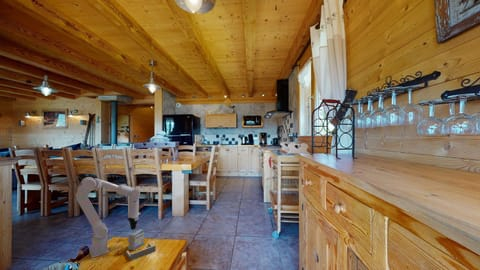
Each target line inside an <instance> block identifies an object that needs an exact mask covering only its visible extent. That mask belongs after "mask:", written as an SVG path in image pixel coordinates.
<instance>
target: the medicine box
mask: <svg viewBox="0 0 480 270" xmlns="http://www.w3.org/2000/svg"><path fill="white" fill-rule="evenodd" d="M144 241H145V230H144V229H136V230H135V231H133V232H131V233H130V234H128V244H127V245H128V246H127V247H128V251H130V250H131V251H136V250H137V249H139V248H140V247H141V246H142V245H144V243H145V242H144Z"/></svg>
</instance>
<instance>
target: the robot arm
mask: <svg viewBox="0 0 480 270" xmlns="http://www.w3.org/2000/svg"><path fill="white" fill-rule="evenodd" d="M95 188H96V189H99V188H105V189H110V190H112V191H115V192H116V194H117V195H121V196H125V197H128V213H127V217H128V218H127V220H128V222H129V226H130V227H129V228H130V230H132V231H134V230H136V229H137V224H138V221H139V219H140V217H139V216H140V215H141V213H142V212H139V209H140V198H139V197H140V196H141V192H140V190H139V189H137V188H136V187H134V186H128V185H127V184H125V183H123V184H118V185H117V184H116V183H113V182H109V181H106V180H104V179H100V178H95V177H94V178H93V177H91V176H87V177H84V178H83V179H81V181H80V182H79V184H78V187H77V191H76V195H75V199H76V201H77V203H78V205H79V206H80V208H81V210H82V211H83V213H84V215H85V216H86V219H87V220H88V222H89V224H90V226H91V227H92V231H93V236H92V238H91V249H90V250H89V254H90V257H91V259H93V258H96V257H100V256H102V255H103V256H104V255H105V254H108V253H109V252H110V250H109V248H108V242H109V241H108V239H109V237H108V233H109V229H108V227H107V225H106V223H105V222H103V221H102V220H101V218H100V216H99V214H98V213H97V211H96V210H95V207H94V206H93V204H92V202H91V201H90V198H89V197H88V196H89V195H90V193H91V191H93V190H94V189H95Z"/></svg>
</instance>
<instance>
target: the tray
mask: <svg viewBox="0 0 480 270" xmlns="http://www.w3.org/2000/svg"><path fill="white" fill-rule="evenodd" d="M147 246H148V247H146V248H143V249H140V250H137V251H135V252H132V253H130V250H126V251H125V255H126V256H127V258H128V259H129V260H130V262H131V261H134V260H136V259H139V258H141V257H144V256H146V255H149V254H151V253H154V252H156V248H157V247H156V244H154V245H153V244H152V242H148V245H147Z"/></svg>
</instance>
